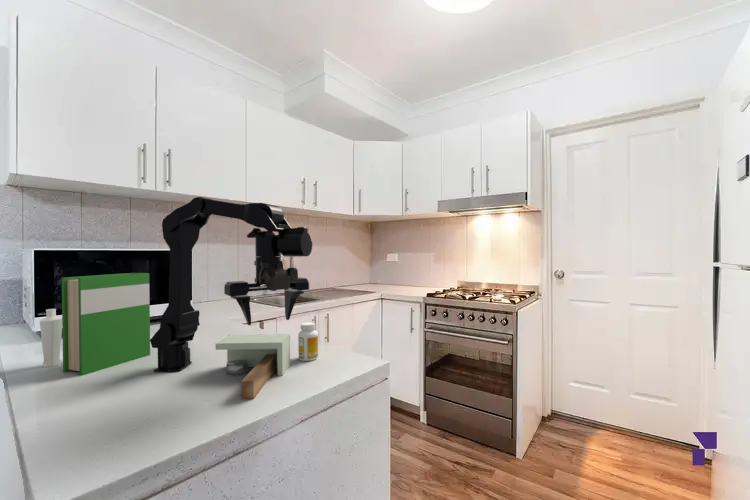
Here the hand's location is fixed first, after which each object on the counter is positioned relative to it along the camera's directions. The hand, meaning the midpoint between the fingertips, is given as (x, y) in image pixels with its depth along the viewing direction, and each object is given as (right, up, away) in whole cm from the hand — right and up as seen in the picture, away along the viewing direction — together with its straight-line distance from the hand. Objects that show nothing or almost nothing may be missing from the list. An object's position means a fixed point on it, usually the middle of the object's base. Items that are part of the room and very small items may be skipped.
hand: (269, 322), depth 83 cm
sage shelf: (-5, -13, +5) cm, 15 cm away
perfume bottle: (-62, -14, +11) cm, 65 cm away
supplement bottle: (+7, -13, +14) cm, 21 cm away
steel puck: (-9, -13, +4) cm, 17 cm away
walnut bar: (-1, -14, -3) cm, 14 cm away
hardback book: (-47, -14, +12) cm, 51 cm away
